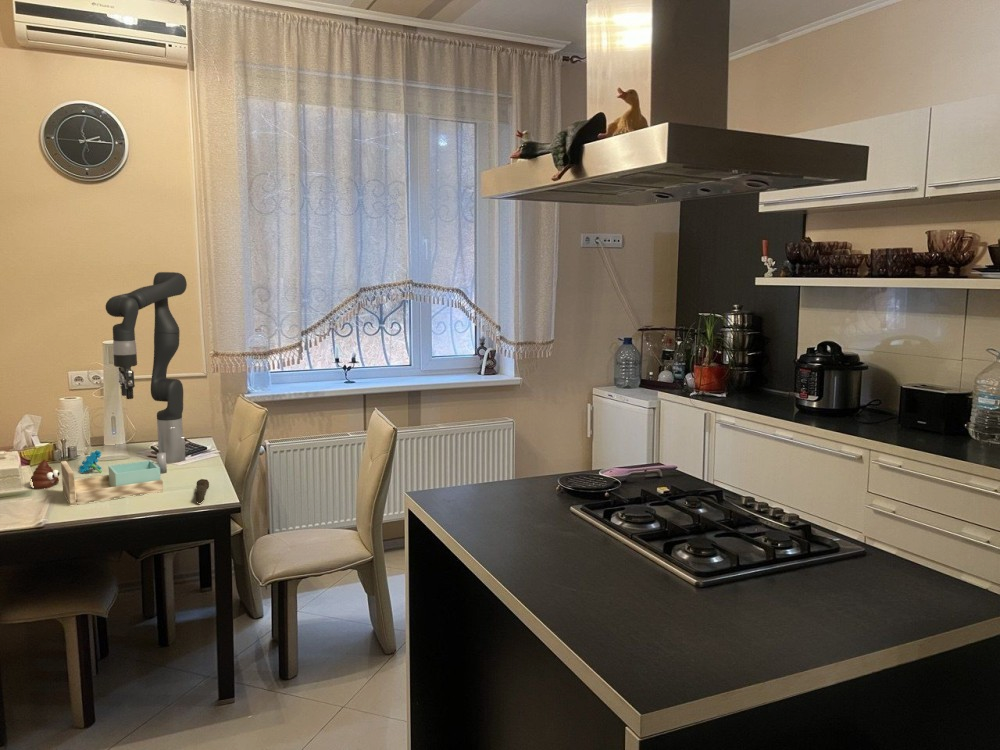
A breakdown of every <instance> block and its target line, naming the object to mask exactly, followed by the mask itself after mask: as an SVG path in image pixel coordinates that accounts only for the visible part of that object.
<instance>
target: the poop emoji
mask: <svg viewBox="0 0 1000 750" xmlns="http://www.w3.org/2000/svg"><path fill="white" fill-rule="evenodd" d="M59 476H60V471H59V470H58V469H54V470H53V467H52V466H50V465H49V463H48V461H47V459H45V458H44V459H43V460H42V461H41V462H40V463H39V464H38V465H37V467H36V468H35V470H34V471H33V473H32V475H31V477H30V480H31V479H32V482H33V486H34V489H33V490H45V489H48V488H49V489H50V488H51V487H52V486H53V487H54V486H55V485H57V484H59V481H60V479H59ZM44 488H45V489H44Z"/></svg>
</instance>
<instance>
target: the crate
mask: <svg viewBox="0 0 1000 750" xmlns="http://www.w3.org/2000/svg"><path fill="white" fill-rule="evenodd" d="M167 467H168V466H167V463H166V453H164V452H162V453H159V452H157V453H156V462H154V461H153V459H152V460H151V459H149V460H148V459H147V460H142V461H135V462H134V461H133V462H126V463H120V464H112V465H111V464H110V465H108V475H109V485H110V486H111V487H115V486H122V485H129V484H136V483H142V482H149V481H156V480H162V479H161V478H162V477H161V475H163V474H166V473H167V472H168V469H167Z"/></svg>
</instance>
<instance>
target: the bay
mask: <svg viewBox="0 0 1000 750" xmlns="http://www.w3.org/2000/svg"><path fill="white" fill-rule="evenodd" d="M60 467H61V468H60V469H61V470H60V471H61V482H62V484H61V485H62V493H64V494H63V495H64V497H65V499H66V500H68V501H67V502H68V504H69V506H70V505H76V504H82V503H89V502H94V501H101V500H108V499H114V498H120V497H126V496H133V495H140V494H147V493H153V494H158V493H157V492H159V493H163V492H164V484H163V480H162V479H161V480H156V481H149V482H142V483H136V484H129V485H122V486H115V487H111V486H110V485H109V474H107V475H99V476H91V477H85V478H84V477H83V478H80V479H79V478H78V479H75V473H74V471H73V469H72V468H71V467H70V465H69V463H68V462H67V461H66V460H64V461H60ZM155 492H156V493H155ZM147 495H148V494H147ZM140 496H141V495H140ZM108 501H109V500H108ZM89 504H90V503H89ZM76 506H77V505H76Z"/></svg>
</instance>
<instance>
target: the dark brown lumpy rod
mask: <svg viewBox="0 0 1000 750" xmlns="http://www.w3.org/2000/svg"><path fill="white" fill-rule="evenodd" d="M195 483H196V486H195V488H196V489H195V501H197V502H198V503H201V502H202V501H203V500H204V501H205V497H206V493H207V490H208V489H209V488H210V482H209V480H208V479H203V478H200V479H198V480H197V481H196V482H195ZM204 501H203V502H204ZM197 502H196V503H197ZM198 503H197V504H198ZM201 504H202V503H201Z"/></svg>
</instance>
